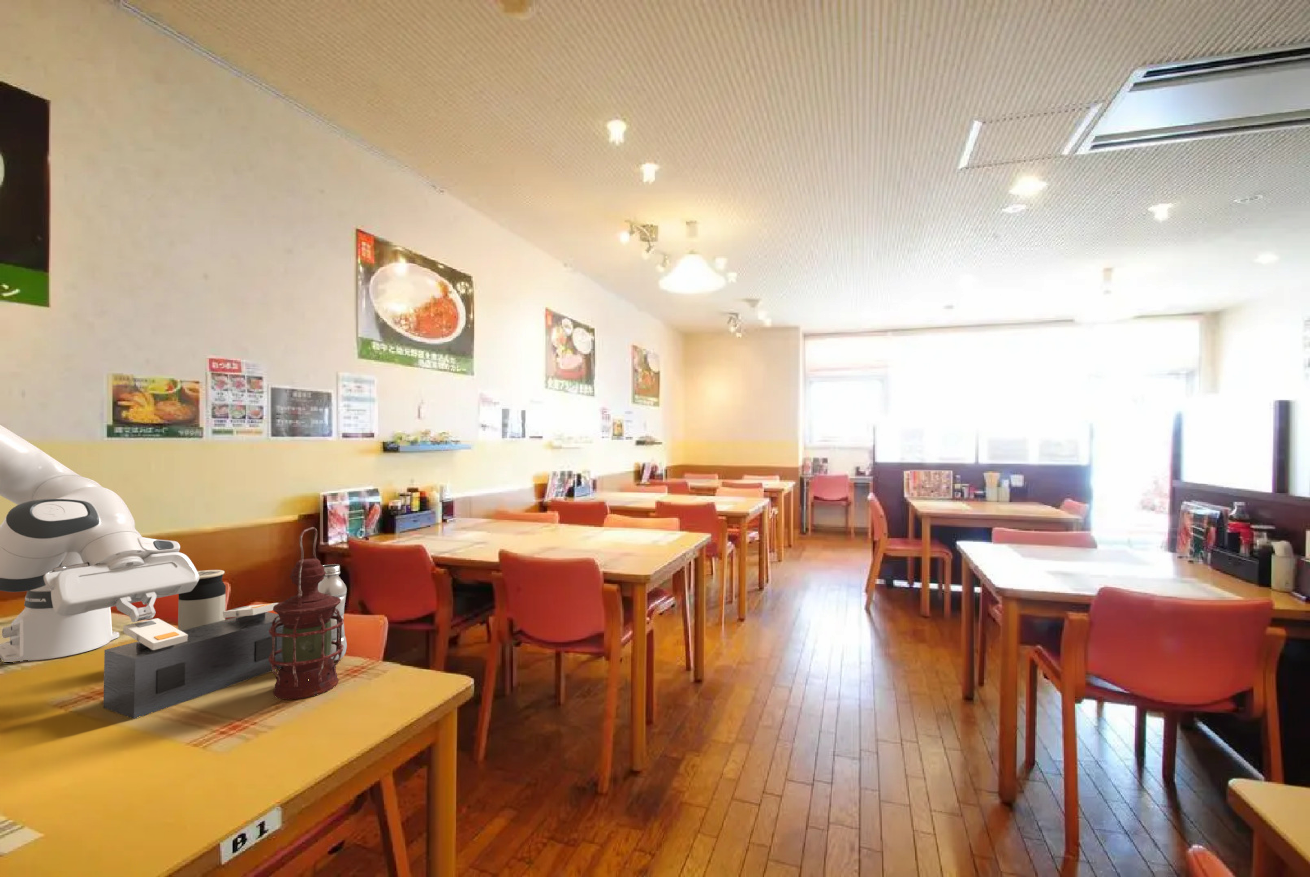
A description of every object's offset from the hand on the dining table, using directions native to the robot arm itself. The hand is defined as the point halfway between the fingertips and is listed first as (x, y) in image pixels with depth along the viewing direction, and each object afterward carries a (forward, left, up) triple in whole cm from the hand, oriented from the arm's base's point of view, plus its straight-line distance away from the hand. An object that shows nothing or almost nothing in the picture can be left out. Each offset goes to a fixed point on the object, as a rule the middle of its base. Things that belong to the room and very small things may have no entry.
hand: (144, 618), depth 102 cm
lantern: (+22, +15, -15) cm, 31 cm away
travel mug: (-14, +16, -15) cm, 26 cm away
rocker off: (+3, +16, -2) cm, 17 cm away
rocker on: (+3, 0, -2) cm, 4 cm away
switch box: (+3, +8, -14) cm, 17 cm away
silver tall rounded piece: (+13, +26, -15) cm, 33 cm away
